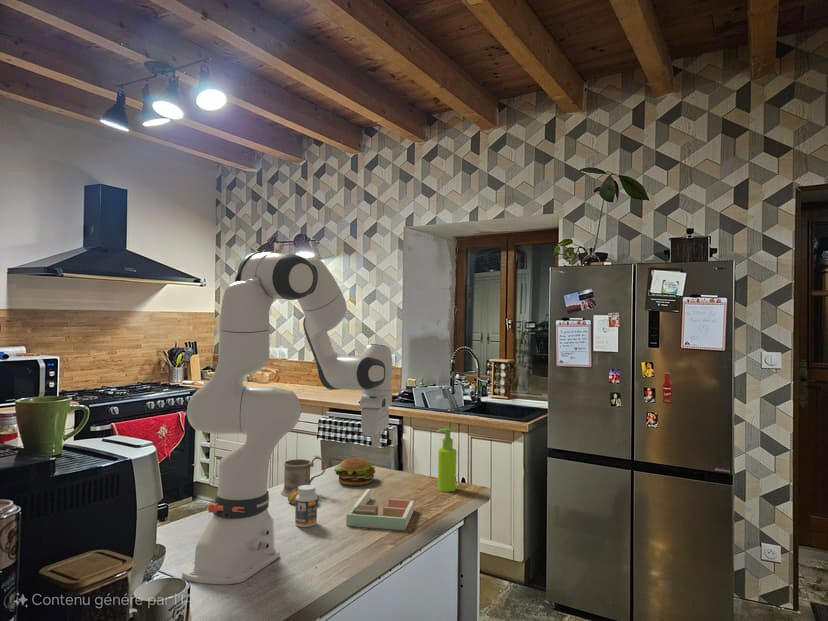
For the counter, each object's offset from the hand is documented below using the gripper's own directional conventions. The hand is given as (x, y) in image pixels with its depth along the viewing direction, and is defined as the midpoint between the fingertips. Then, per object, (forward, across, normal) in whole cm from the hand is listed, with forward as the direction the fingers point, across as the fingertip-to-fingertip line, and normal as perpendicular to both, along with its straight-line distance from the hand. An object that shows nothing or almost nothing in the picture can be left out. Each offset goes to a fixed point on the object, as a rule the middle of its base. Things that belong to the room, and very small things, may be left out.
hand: (375, 447), depth 164 cm
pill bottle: (+19, +14, -16) cm, 28 cm away
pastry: (+18, -3, -23) cm, 30 cm away
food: (+17, -29, -14) cm, 37 cm away
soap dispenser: (+18, -26, +18) cm, 36 cm away
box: (+18, +1, +3) cm, 19 cm away
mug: (+18, -12, -26) cm, 34 cm away
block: (+19, +9, 0) cm, 21 cm away
